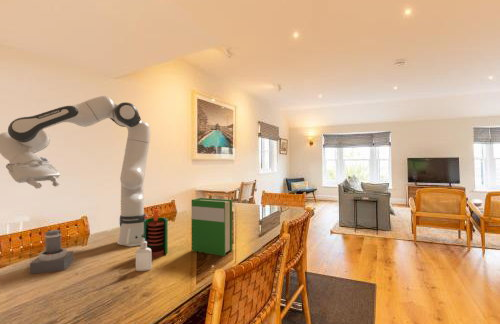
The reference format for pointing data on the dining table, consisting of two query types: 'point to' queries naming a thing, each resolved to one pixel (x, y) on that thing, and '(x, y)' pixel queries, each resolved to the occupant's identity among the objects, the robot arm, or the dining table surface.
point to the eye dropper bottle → (143, 257)
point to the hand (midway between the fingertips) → (48, 186)
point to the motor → (156, 234)
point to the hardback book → (212, 225)
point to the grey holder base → (52, 262)
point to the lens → (52, 242)
